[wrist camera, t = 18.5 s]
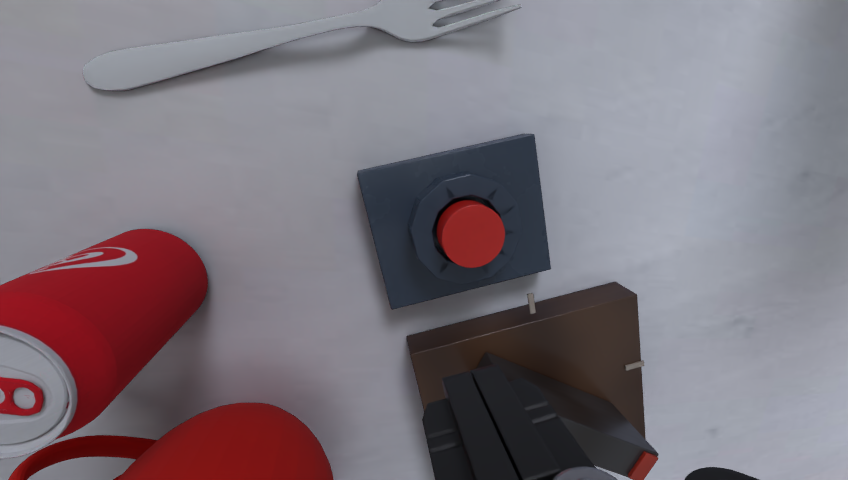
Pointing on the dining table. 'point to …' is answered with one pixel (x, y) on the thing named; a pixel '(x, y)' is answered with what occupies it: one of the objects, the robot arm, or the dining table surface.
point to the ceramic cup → (206, 449)
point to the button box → (432, 194)
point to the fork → (271, 41)
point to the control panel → (547, 346)
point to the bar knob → (589, 422)
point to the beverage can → (88, 331)
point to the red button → (470, 233)
